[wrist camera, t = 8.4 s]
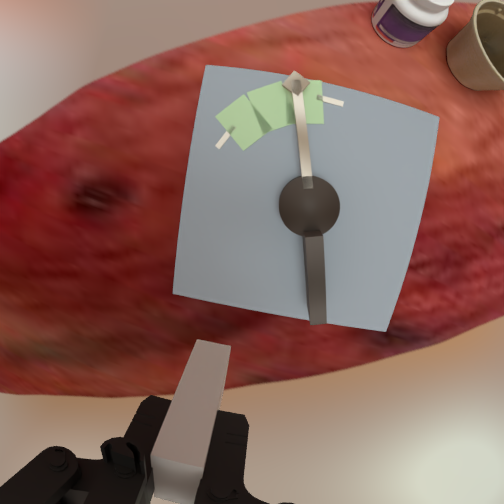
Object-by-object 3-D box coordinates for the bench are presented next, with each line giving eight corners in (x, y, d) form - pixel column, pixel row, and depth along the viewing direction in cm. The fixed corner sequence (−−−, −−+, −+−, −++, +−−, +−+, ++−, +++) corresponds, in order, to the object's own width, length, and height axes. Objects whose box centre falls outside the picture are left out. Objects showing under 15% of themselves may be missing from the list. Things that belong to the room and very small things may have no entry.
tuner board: (176, 287, 33) (171, 294, 31) (209, 68, 27) (205, 63, 25) (382, 324, 32) (386, 332, 31) (432, 117, 26) (440, 116, 24)
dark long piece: (264, 79, 25) (261, 66, 21) (321, 75, 25) (328, 62, 21) (287, 306, 30) (288, 326, 27) (340, 301, 30) (347, 321, 26)
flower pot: (506, 59, 23) (551, 44, 14) (489, 122, 25) (540, 117, 17) (443, 10, 22) (481, -20, 14) (422, 72, 25) (464, 49, 17)
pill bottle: (426, 48, 24) (472, 16, 15) (379, 49, 25) (416, 11, 15) (409, 4, 23) (447, -37, 13) (363, 4, 23) (390, -44, 14)
